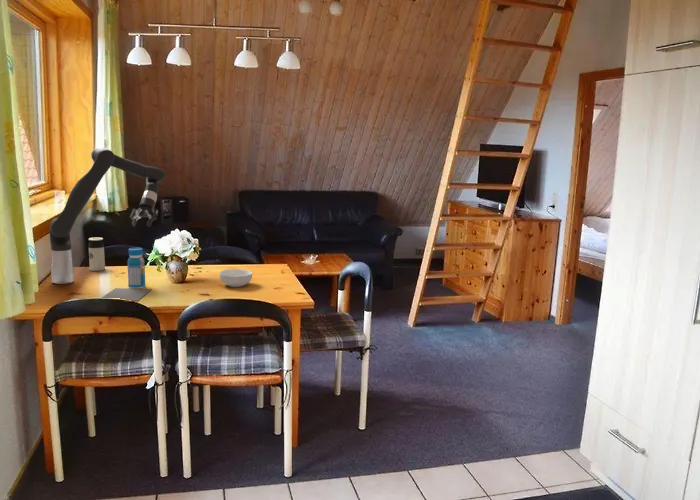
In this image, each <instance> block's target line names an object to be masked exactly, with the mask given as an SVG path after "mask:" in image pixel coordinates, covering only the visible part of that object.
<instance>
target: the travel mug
mask: <svg viewBox="0 0 700 500" xmlns="http://www.w3.org/2000/svg"><path fill="white" fill-rule="evenodd" d="M88 241H89V242H88V244H87V245H88V256H89V257H88V258H89V259H88V261H89V270H90V271H93V272H100V271H104V270H105V269H106V261H105V244H104V242H103V241H104V238H103V237H89V238H88Z"/></svg>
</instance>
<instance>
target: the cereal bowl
mask: <svg viewBox="0 0 700 500" xmlns="http://www.w3.org/2000/svg"><path fill="white" fill-rule="evenodd" d="M219 279H220V281H221V282H222V283H223V284H225V285H227V286H228V287H231V288H242V287H244V286H245V285H247V284H250V282H251V281H252V280H253V272H252V271H251V270H248V269H242V268H241V269H240V268H231V269H230V268H229V269H224V270H221V271H220V272H219Z"/></svg>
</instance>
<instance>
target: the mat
mask: <svg viewBox="0 0 700 500" xmlns="http://www.w3.org/2000/svg"><path fill="white" fill-rule="evenodd" d="M151 291H152V289H151V288H139V289H132V288H129V287H127V288H125V287H115V288H114V289H111V290H110V291H109V292H107V293H106V294H104V295H103V296H101V298H120V299H126V300H131V301H137V302H139V301H140V300H142V298H144V297H146V295H147V294H149V293H150V292H151ZM131 301H130V302H131Z"/></svg>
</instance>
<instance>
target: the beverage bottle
mask: <svg viewBox="0 0 700 500" xmlns="http://www.w3.org/2000/svg"><path fill="white" fill-rule="evenodd" d="M143 250H144V249H143V248H142V247H130V248H128V256H129V257H128V259H127V262H126V263H127V278H128V279H127V280H128V288H131V289H145V287H146V265H145V262H146V261H145V259H144V257H143V255H144V252H143Z"/></svg>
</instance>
